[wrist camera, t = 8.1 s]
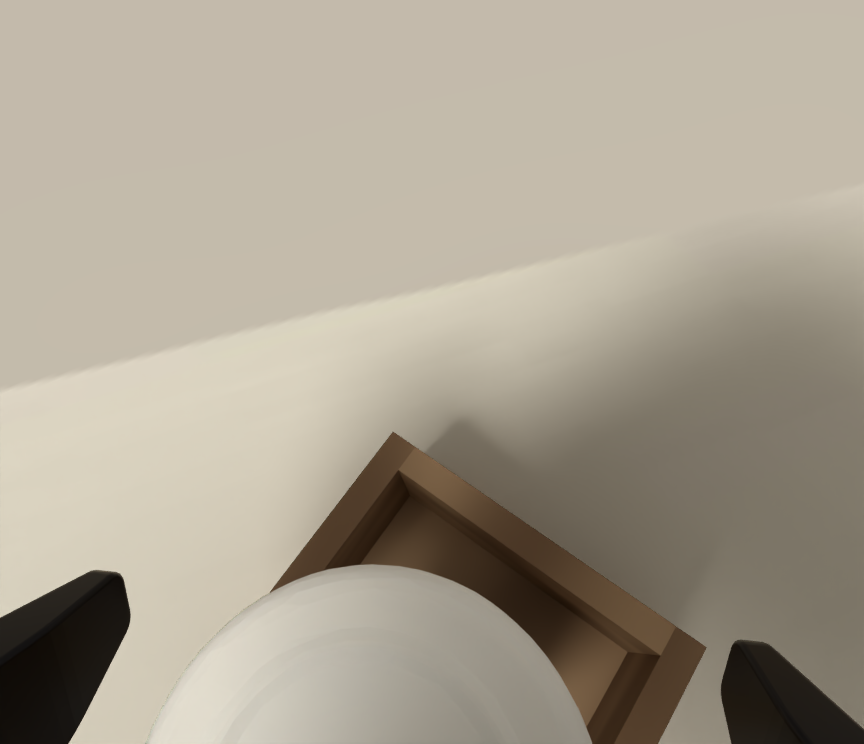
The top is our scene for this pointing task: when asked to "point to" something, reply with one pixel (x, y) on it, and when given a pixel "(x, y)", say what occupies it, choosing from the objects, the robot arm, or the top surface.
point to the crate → (513, 587)
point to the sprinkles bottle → (370, 670)
